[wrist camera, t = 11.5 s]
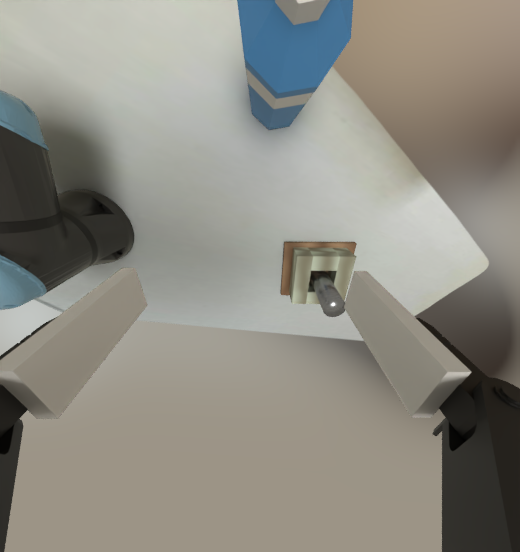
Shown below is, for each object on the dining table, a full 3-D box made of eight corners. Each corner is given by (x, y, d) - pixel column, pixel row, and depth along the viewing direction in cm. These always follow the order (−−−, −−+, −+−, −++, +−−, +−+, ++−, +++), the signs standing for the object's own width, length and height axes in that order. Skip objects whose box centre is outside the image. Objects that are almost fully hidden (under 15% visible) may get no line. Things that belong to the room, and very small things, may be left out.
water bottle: (314, 109, 33) (421, -5, 11) (265, 142, 35) (275, 103, 13) (289, 38, 29) (382, -357, 7) (237, 81, 31) (184, -117, 9)
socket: (280, 292, 51) (283, 307, 46) (284, 241, 44) (287, 251, 39) (341, 293, 51) (350, 307, 46) (354, 242, 44) (367, 252, 39)
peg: (306, 278, 48) (321, 316, 36) (308, 263, 46) (325, 299, 34) (322, 278, 48) (343, 316, 36) (325, 263, 46) (348, 299, 34)
